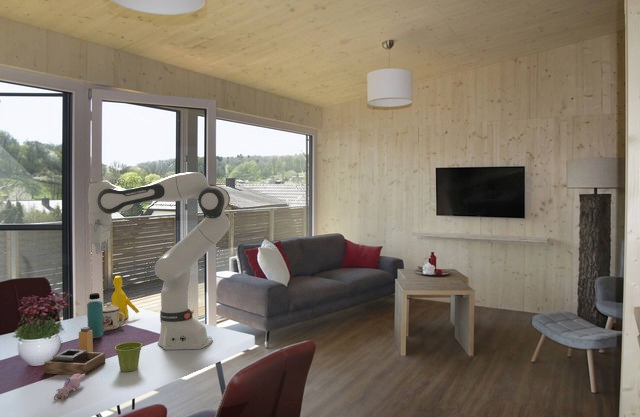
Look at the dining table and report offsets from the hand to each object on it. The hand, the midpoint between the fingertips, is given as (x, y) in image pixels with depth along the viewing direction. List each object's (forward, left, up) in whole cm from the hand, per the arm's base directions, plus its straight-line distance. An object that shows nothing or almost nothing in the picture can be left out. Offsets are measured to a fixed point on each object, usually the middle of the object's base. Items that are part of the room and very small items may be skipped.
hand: (101, 252), depth 203 cm
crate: (-6, +27, -39) cm, 48 cm away
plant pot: (-26, +25, -39) cm, 53 cm away
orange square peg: (-2, +15, -39) cm, 42 cm away
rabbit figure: (-17, +45, -40) cm, 62 cm away
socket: (-4, +27, -39) cm, 48 cm away
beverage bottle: (+7, -5, -39) cm, 40 cm away
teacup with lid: (+9, -21, -39) cm, 46 cm away
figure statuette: (+13, -35, -39) cm, 54 cm away
